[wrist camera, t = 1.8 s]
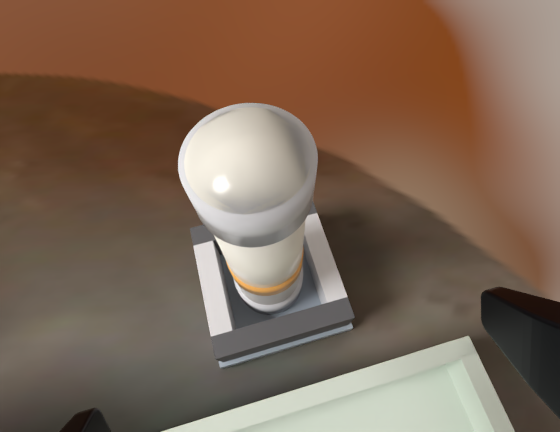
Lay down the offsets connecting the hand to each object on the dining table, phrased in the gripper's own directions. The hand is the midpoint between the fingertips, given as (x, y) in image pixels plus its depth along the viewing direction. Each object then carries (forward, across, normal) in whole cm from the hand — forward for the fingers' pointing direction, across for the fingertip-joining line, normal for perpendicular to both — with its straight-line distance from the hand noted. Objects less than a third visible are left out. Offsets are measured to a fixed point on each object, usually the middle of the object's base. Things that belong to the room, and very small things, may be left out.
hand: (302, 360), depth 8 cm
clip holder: (+12, 0, +5) cm, 13 cm away
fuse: (+11, 0, +4) cm, 12 cm away
